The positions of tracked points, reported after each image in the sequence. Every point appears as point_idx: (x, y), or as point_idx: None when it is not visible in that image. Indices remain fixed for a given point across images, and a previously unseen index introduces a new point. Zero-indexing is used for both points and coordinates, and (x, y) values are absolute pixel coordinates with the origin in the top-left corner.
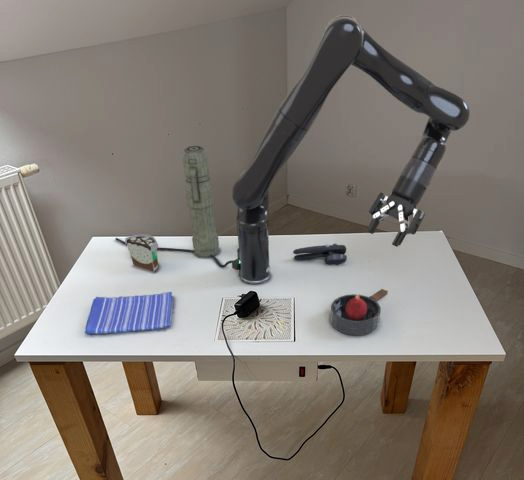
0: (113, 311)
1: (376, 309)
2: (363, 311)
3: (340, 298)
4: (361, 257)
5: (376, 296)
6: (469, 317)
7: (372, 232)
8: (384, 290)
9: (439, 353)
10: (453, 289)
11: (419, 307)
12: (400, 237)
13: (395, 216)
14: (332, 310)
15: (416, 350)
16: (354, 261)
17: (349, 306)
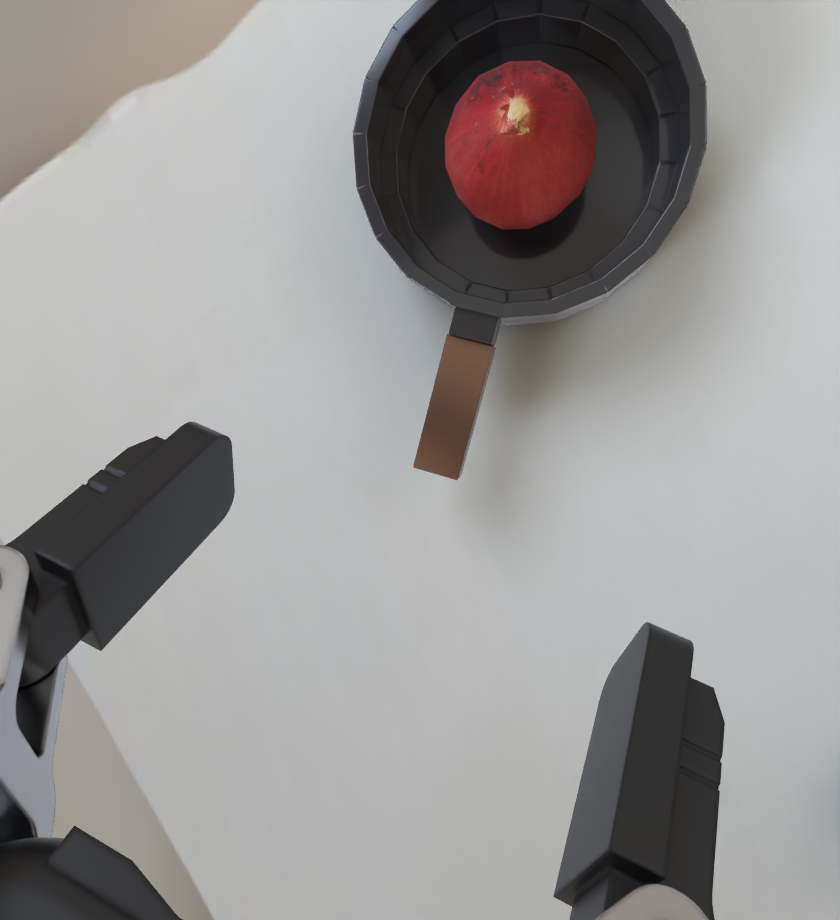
0: None
1: (412, 257)
2: (452, 115)
3: (672, 198)
4: (770, 915)
5: (455, 371)
6: None
7: (614, 675)
8: (435, 466)
9: (57, 159)
10: (174, 736)
11: (261, 499)
12: (80, 503)
13: (98, 897)
14: (663, 5)
15: (148, 119)
16: (797, 851)
17: (551, 69)
